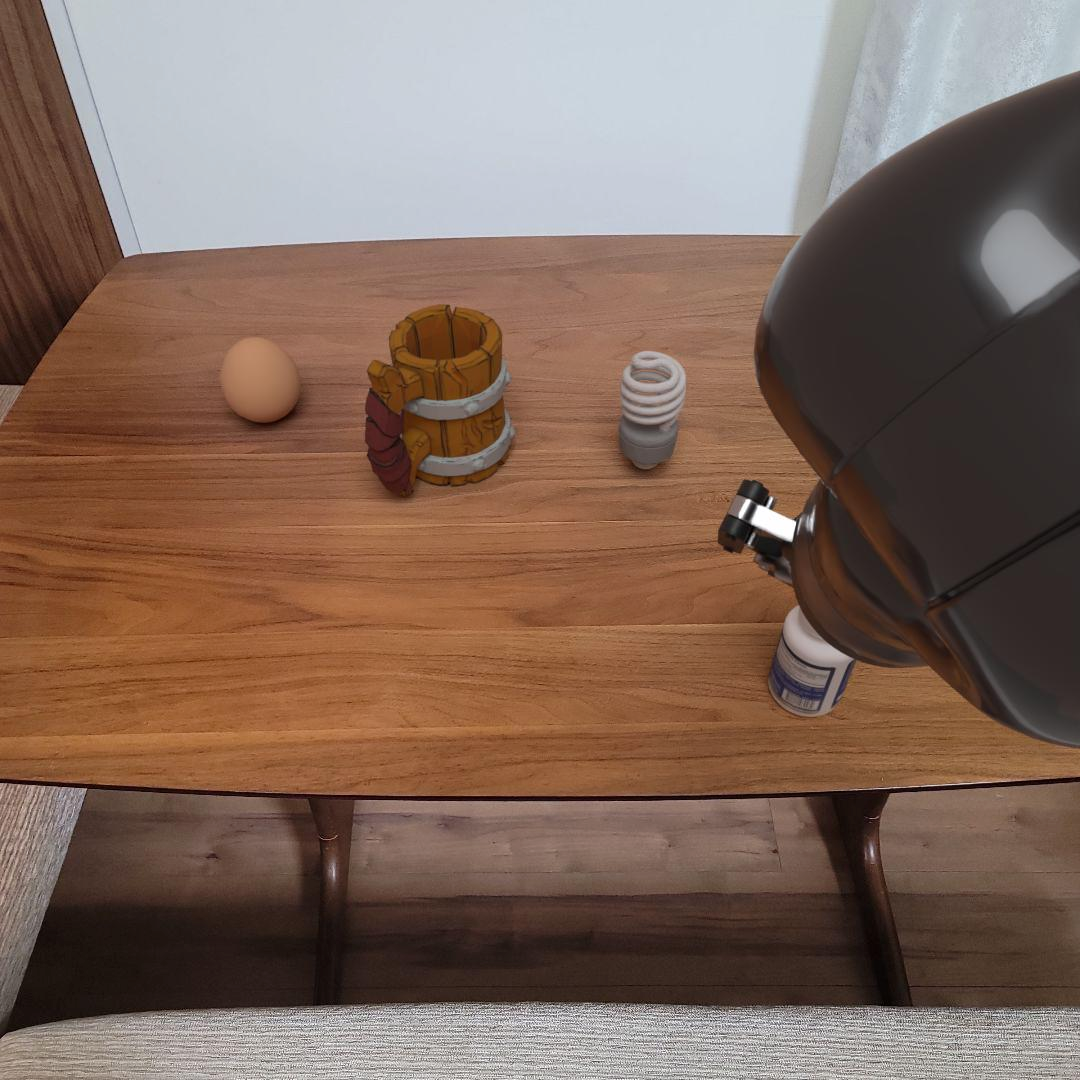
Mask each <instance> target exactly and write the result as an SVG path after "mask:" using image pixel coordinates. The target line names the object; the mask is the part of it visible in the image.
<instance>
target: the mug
mask: <svg viewBox="0 0 1080 1080" xmlns="http://www.w3.org/2000/svg"><path fill="white" fill-rule="evenodd" d="M503 336H504V335H503V332H502V330H501V326H500V325H499V324H497V323H496V321H495V319H494V318H492V317H491V316H488V315H486V314H485V313H484V312H482V311H479V310H476V309H471V308H468V307H460V306H455V307H454V308H453V311H452V309H451V305H450V304H442V303H441V304H435V305H430V306H427V307H423V308H420V309H418V310H415V311H413V312H411V313H409V314H408V315H406V316H405V317H404V319H402V320H400V321H399V322H398V323H397V324H395V329H393V330H391V332H390V334H389V336H388V347H389V352H390V359H391V364H389V363H386V362H383V361H382V360H379V359H373V360H371V362H370V363H369V365H368V368H367V369H366V373H367V377H368V379H369V381H370V384H371V387H369V389H368V393H367V396H366V399H365V406H364V411H365V414H366V415H367V417H365V428H364V442H365V444H366V445H367V446H368V448H367V454H366V457H367V460H368V461H369V463H370V467H371V470H372V472H373V473H374V474H375V475H376V476H377V478H378V479H379V482H380V483H381V484H382V486H383V487H384V489H386V490H387V491H389V492H391V493H392V494H397V495H398V496H401V497H407V496H408V495H409V494H410V493H411V494H413V493H414V487H415V484H416V478H418V479H421V480H423V481H425V482H427V483H428V484H433V485H436V486H448V485H449V484H450V485H451V486H452V487H455V486H465V485H466V484H467V482H469V483H474V484H475V483H478V482H480V481H483V480H484V479H487V478H489V477H491V476H492V475H493V474H495V473H496V472H497V471H498V470H499V466H500V465H504V464H505V463H506V461H507V459H508V457H509V453H510V449H511V443H512V439H514V438H515V436H516V430H515V427H514V426H512V420H511V417H510V414H509V412H508V410H507V408H506V407H505V399H504V394H505V392H506V390H507V386H509V385H510V384H511V381H512V375H511V374H510V371H508V368H507V363H506V359H505V357H504V356H503Z"/></svg>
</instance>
